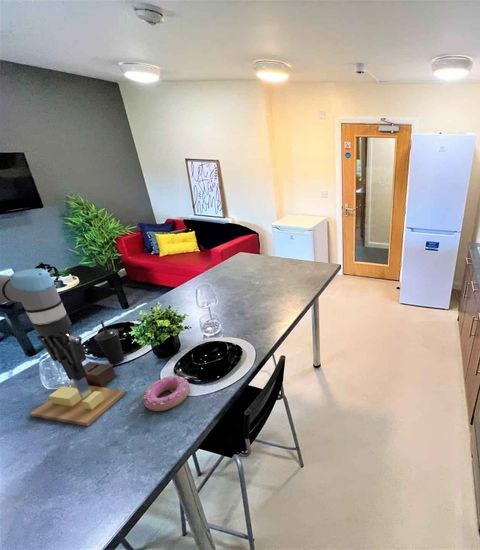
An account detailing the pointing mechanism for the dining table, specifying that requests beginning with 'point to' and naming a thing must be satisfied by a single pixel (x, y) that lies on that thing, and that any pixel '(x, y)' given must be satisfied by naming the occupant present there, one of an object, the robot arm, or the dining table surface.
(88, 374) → the knife block
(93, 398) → the butter pat
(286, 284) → the dining table surface
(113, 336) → the drinking cup
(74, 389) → the butter stick
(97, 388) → the board
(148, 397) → the donut
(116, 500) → the dining table surface
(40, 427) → the dining table surface
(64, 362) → the knife
